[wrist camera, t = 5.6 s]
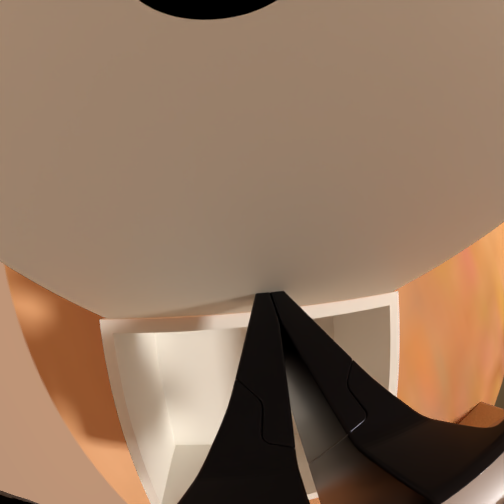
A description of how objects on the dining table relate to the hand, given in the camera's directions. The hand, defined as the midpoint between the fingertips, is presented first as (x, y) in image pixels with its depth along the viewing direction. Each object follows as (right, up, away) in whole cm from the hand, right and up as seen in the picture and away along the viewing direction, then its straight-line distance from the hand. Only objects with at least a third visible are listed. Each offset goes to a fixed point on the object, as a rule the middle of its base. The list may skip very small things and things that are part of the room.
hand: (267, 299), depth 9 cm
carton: (-1, -8, +10) cm, 12 cm away
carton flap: (0, +2, -3) cm, 4 cm away
